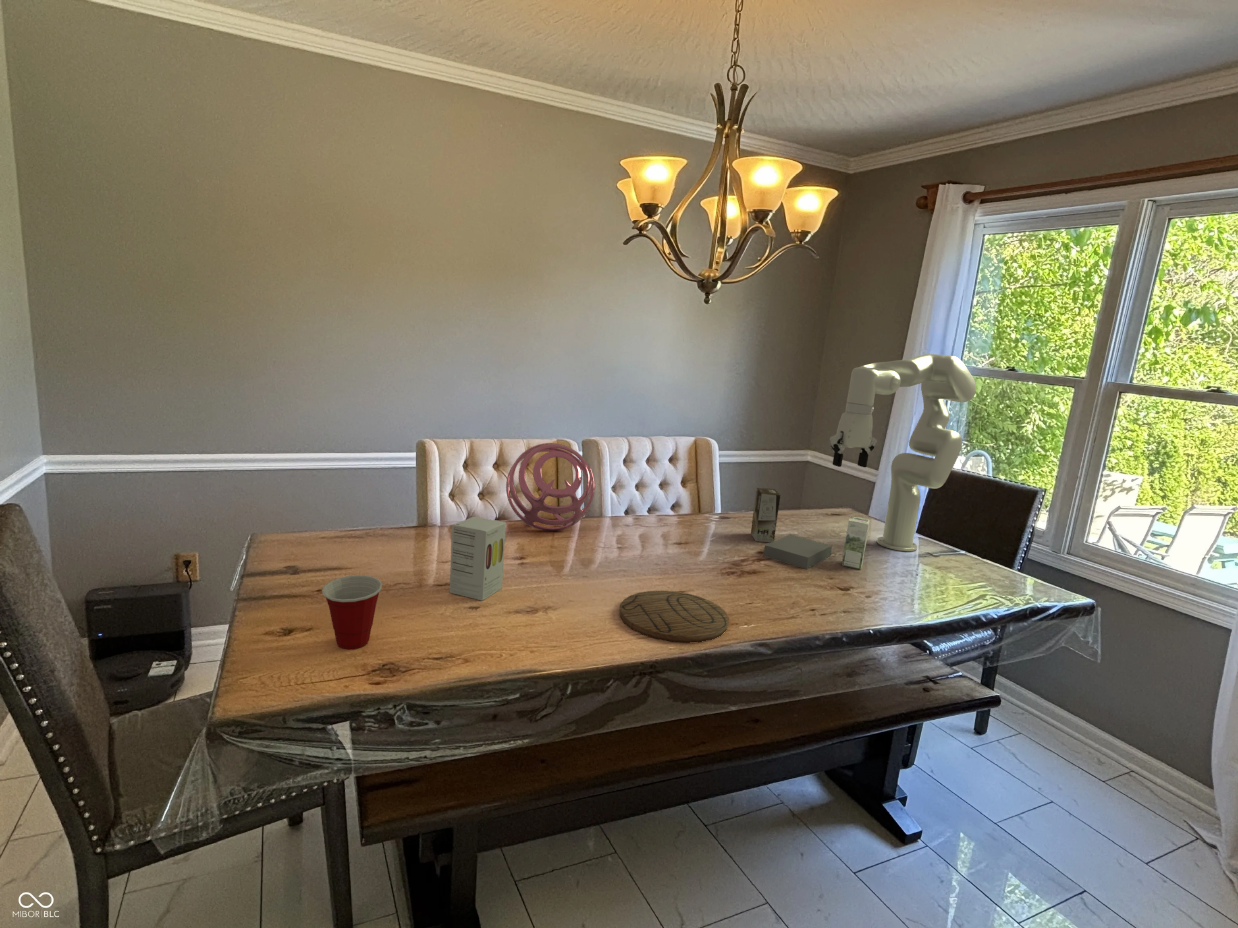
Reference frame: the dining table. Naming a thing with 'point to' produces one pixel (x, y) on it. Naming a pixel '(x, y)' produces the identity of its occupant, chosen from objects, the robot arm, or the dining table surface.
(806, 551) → the plate
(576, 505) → the pink openwork sphere
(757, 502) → the coffee box
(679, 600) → the trivet
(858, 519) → the syrup box
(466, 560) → the supplement box
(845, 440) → the robot arm
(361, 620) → the plastic cup
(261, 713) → the dining table surface
